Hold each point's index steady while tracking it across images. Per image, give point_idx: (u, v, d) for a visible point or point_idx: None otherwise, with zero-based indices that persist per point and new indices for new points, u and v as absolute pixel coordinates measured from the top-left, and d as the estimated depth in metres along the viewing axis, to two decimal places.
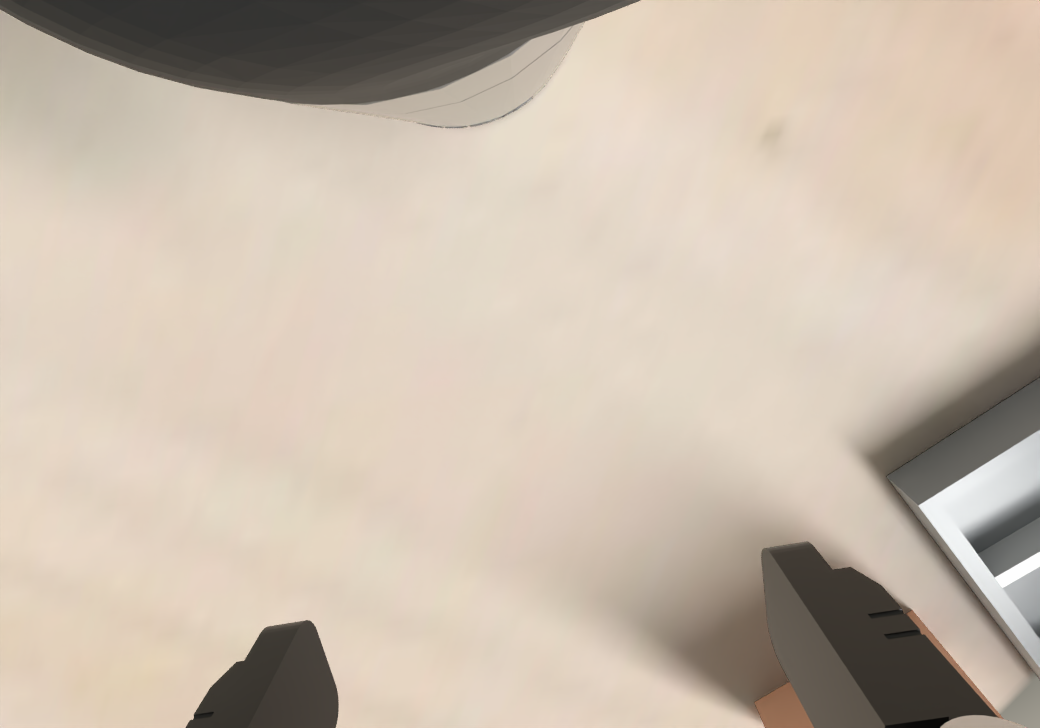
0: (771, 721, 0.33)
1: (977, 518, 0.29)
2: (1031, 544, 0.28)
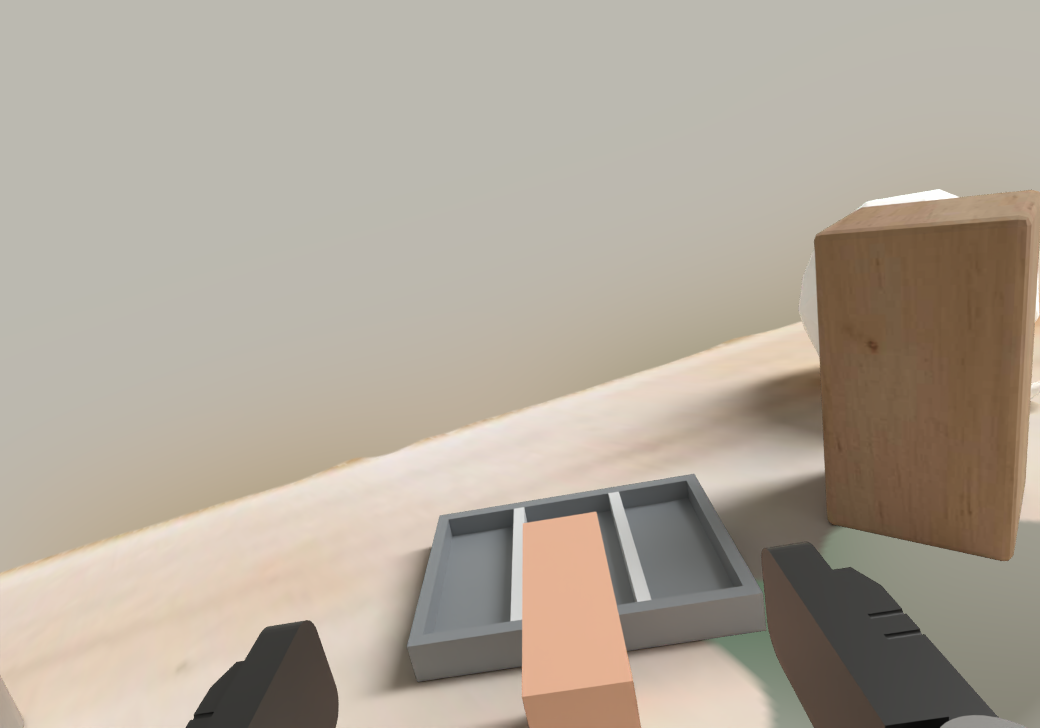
0: None
1: None
2: None
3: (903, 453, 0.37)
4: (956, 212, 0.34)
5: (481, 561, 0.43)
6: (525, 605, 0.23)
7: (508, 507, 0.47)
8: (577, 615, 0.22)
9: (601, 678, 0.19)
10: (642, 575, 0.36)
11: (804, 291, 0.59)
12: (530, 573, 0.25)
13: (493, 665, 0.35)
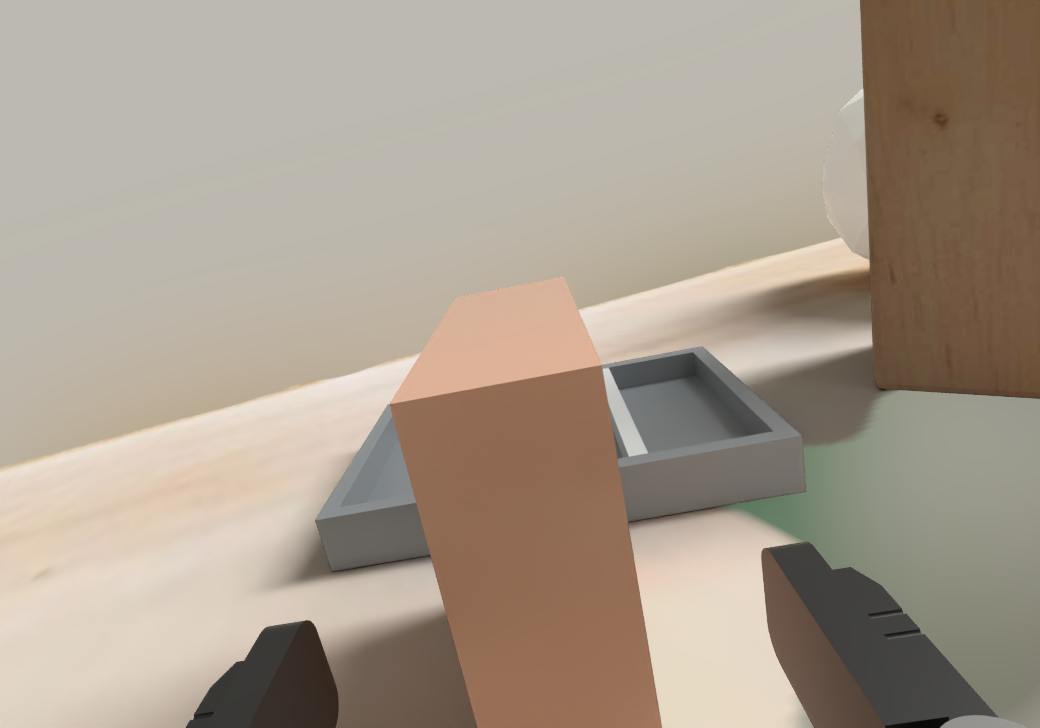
0: None
1: None
2: None
3: (982, 268, 0.28)
4: None
5: None
6: (433, 340, 0.14)
7: None
8: (515, 334, 0.13)
9: (541, 371, 0.10)
10: (636, 432, 0.27)
11: (829, 162, 0.50)
12: (452, 320, 0.16)
13: None
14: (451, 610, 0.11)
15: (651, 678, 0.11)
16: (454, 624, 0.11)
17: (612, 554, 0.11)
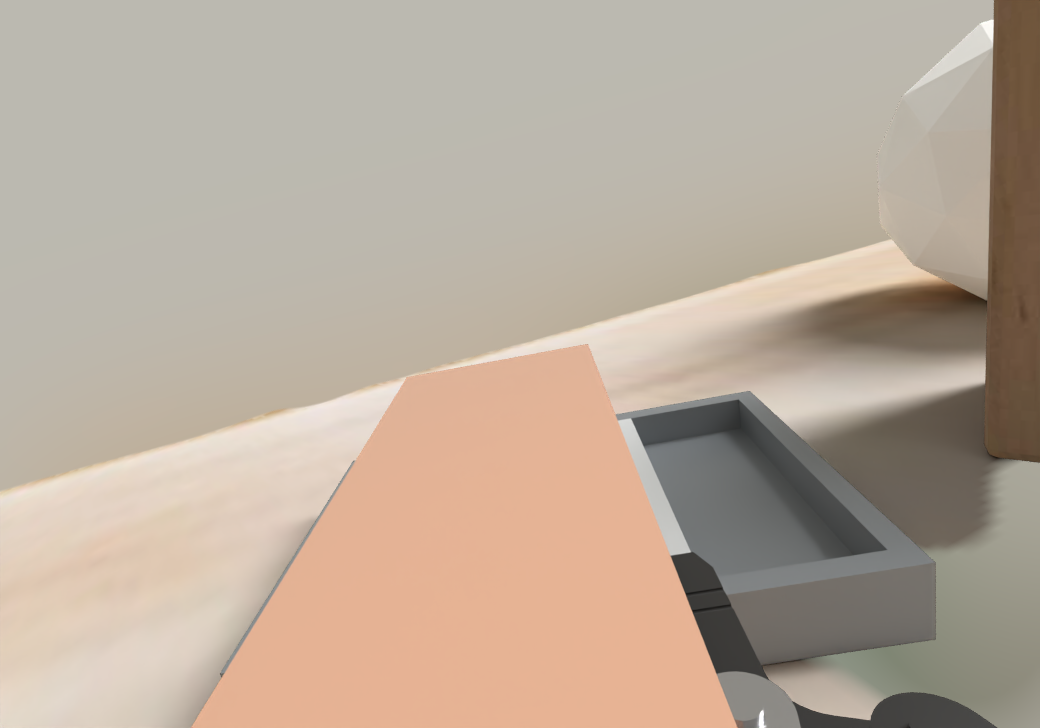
0: None
1: None
2: None
3: None
4: None
5: None
6: (311, 549, 0.06)
7: None
8: (493, 579, 0.05)
9: None
10: (680, 536, 0.19)
11: (888, 159, 0.42)
12: (376, 462, 0.08)
13: None
14: None
15: None
16: None
17: None
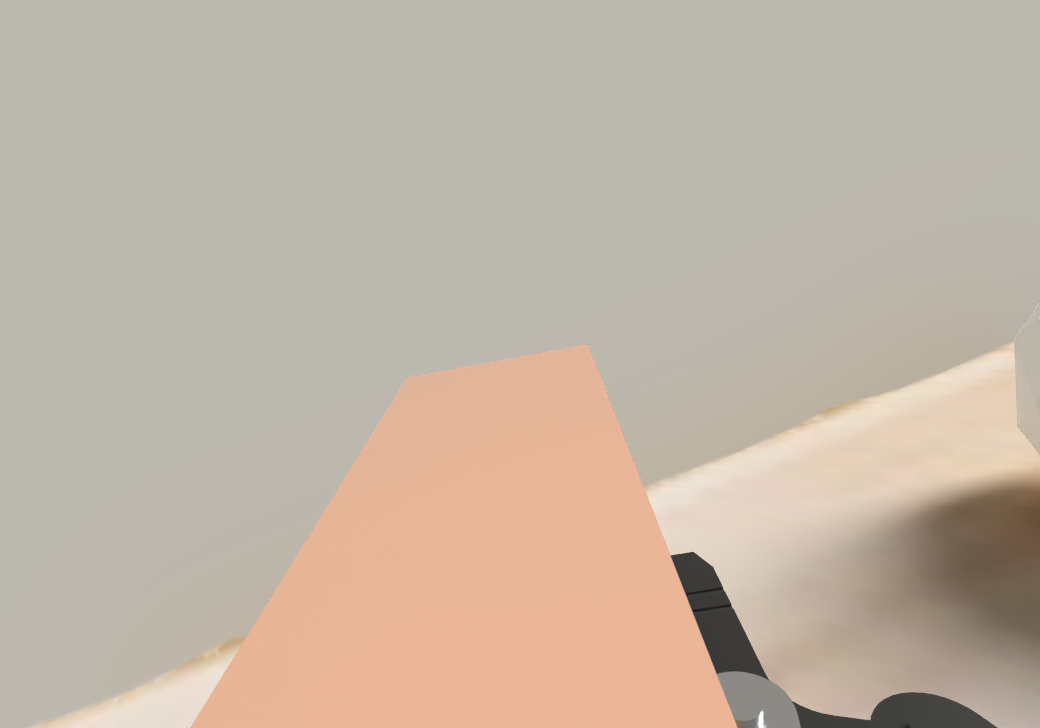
0: None
1: None
2: None
3: None
4: None
5: None
6: (310, 550, 0.06)
7: None
8: (493, 581, 0.05)
9: None
10: None
11: None
12: (375, 462, 0.08)
13: None
14: None
15: None
16: None
17: None
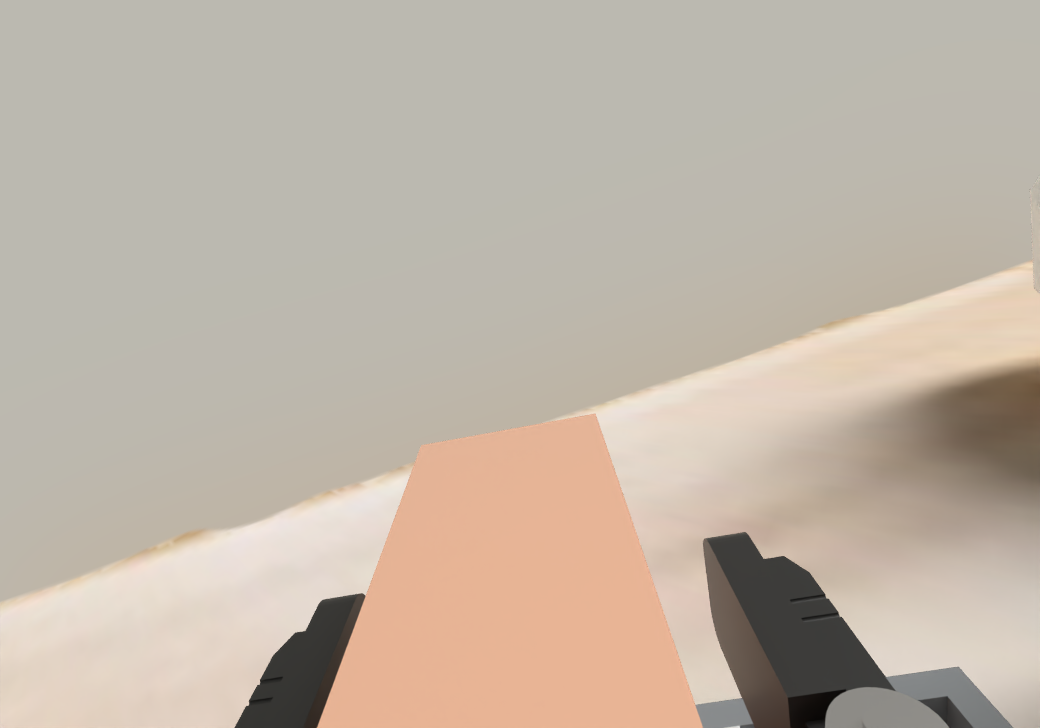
0: None
1: None
2: None
3: None
4: None
5: None
6: (351, 663, 0.07)
7: None
8: (527, 709, 0.06)
9: None
10: None
11: None
12: (402, 555, 0.08)
13: None
14: None
15: None
16: None
17: None
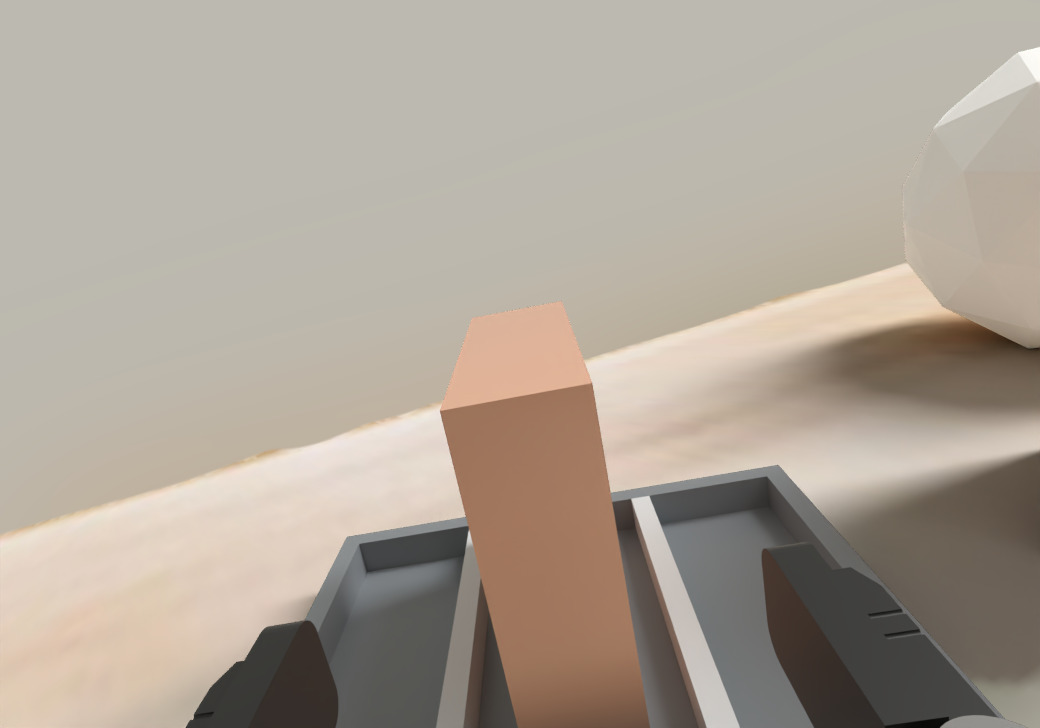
0: None
1: None
2: None
3: None
4: None
5: (404, 622, 0.24)
6: (461, 358, 0.18)
7: (460, 523, 0.28)
8: (526, 355, 0.17)
9: (549, 387, 0.14)
10: (716, 675, 0.17)
11: (917, 195, 0.39)
12: (473, 341, 0.20)
13: None
14: (481, 562, 0.15)
15: (629, 613, 0.15)
16: (483, 572, 0.15)
17: (600, 520, 0.15)
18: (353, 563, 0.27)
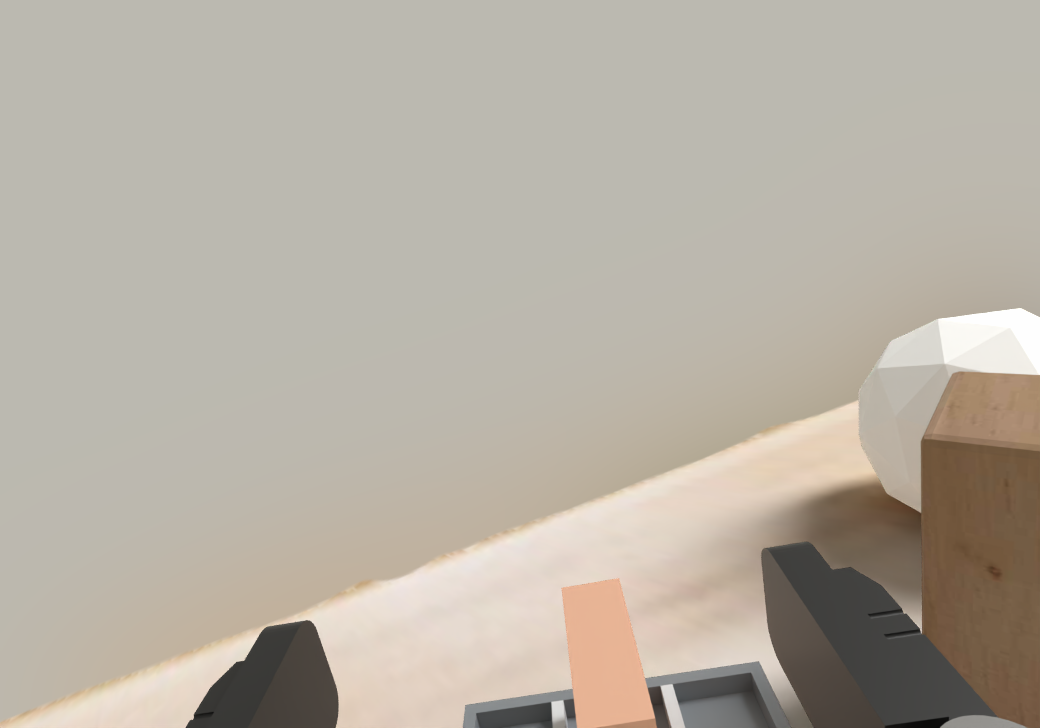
0: None
1: None
2: None
3: (1029, 694, 0.31)
4: None
5: None
6: (571, 659, 0.31)
7: (544, 698, 0.41)
8: (611, 667, 0.30)
9: (632, 716, 0.27)
10: None
11: (866, 415, 0.53)
12: (572, 632, 0.33)
13: None
14: None
15: None
16: None
17: None
18: None
